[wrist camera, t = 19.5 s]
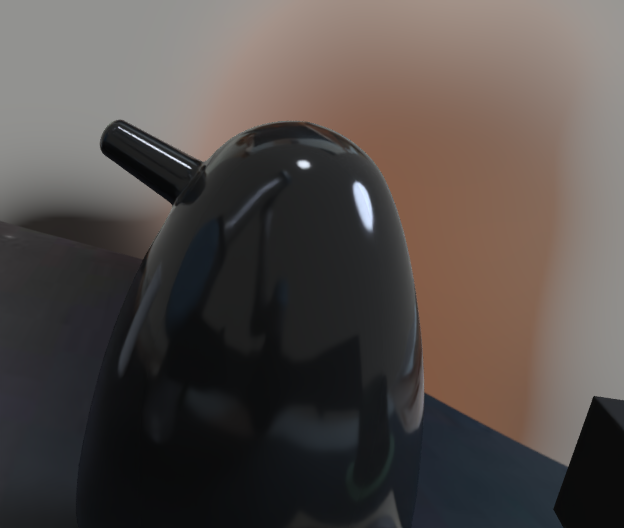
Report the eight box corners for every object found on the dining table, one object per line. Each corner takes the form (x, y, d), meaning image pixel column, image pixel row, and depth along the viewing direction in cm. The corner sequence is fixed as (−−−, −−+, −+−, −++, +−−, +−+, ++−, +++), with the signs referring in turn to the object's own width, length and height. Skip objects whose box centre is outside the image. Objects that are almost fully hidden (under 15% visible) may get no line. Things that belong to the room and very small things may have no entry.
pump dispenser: (134, 457, 25) (166, 84, 20) (378, 503, 25) (468, 137, 20) (-10, 700, 15) (-12, 89, 10) (391, 781, 15) (571, 192, 10)
